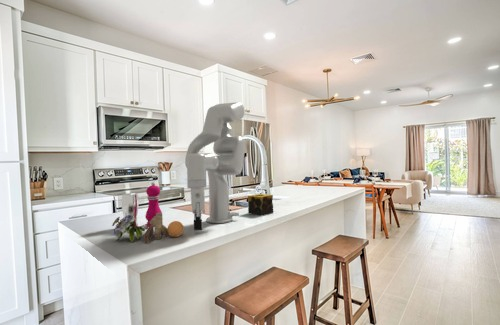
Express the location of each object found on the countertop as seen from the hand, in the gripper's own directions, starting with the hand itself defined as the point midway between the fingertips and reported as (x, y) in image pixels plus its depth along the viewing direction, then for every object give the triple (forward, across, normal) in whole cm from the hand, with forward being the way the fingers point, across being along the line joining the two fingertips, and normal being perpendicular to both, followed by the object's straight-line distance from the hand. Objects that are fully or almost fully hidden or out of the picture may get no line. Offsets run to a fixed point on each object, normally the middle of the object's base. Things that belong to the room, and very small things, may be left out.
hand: (197, 229), depth 105 cm
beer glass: (+2, +20, +29) cm, 35 cm away
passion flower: (+2, 0, +26) cm, 26 cm away
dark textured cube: (+2, +30, -35) cm, 46 cm away
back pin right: (+2, +3, +15) cm, 15 cm away
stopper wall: (+2, 0, +18) cm, 19 cm away
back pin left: (+2, -3, +15) cm, 15 cm away
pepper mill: (+2, +20, +19) cm, 27 cm away
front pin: (+1, 0, +11) cm, 11 cm away
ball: (-2, -2, +9) cm, 9 cm away
